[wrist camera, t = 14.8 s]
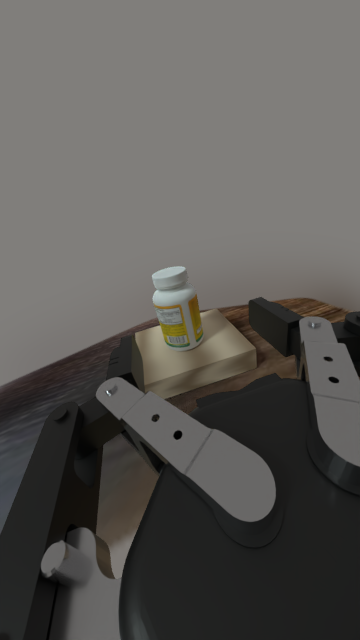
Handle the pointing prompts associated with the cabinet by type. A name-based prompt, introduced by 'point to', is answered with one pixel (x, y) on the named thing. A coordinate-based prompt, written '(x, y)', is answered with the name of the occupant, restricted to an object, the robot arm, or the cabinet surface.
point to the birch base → (194, 357)
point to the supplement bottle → (177, 309)
